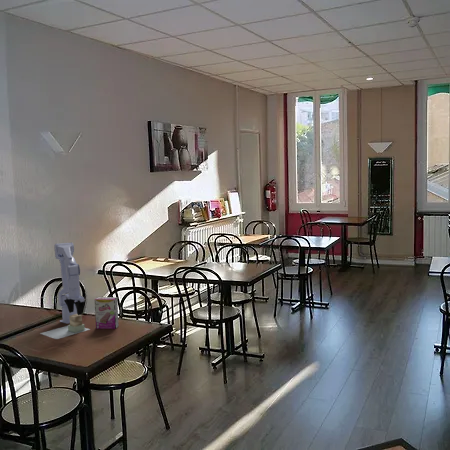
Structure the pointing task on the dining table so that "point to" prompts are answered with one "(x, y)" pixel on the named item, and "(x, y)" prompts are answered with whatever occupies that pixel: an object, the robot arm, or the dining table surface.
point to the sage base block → (76, 328)
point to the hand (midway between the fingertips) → (75, 313)
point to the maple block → (75, 320)
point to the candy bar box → (106, 312)
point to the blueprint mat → (60, 332)
